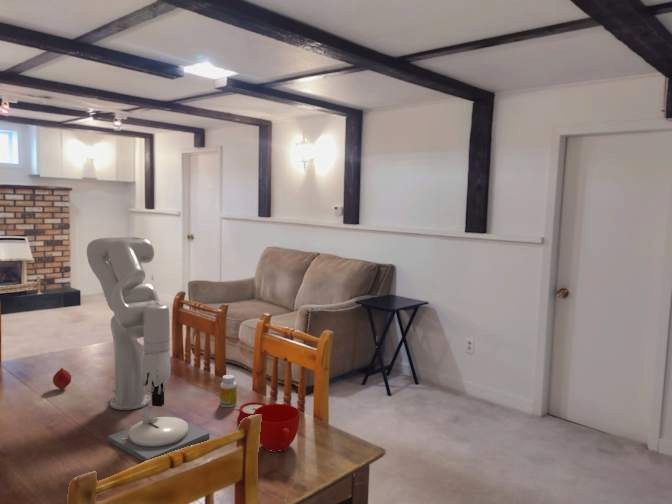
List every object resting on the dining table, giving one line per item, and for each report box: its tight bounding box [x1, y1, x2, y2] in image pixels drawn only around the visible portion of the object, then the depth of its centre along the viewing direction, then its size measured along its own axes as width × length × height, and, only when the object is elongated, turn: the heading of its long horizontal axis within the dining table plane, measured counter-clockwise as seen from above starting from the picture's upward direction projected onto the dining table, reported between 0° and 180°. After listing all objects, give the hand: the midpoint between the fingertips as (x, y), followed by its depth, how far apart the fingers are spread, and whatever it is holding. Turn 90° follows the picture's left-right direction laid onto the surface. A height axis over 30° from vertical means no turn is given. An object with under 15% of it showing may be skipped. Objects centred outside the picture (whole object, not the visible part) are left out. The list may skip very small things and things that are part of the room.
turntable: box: [129, 405, 188, 447], centre depth 151 cm, size 16×16×6 cm
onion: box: [52, 367, 72, 390], centre depth 187 cm, size 6×6×8 cm
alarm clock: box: [232, 401, 267, 424], centre depth 165 cm, size 10×6×15 cm
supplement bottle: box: [219, 374, 238, 408], centre depth 178 cm, size 5×5×10 cm
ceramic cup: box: [253, 403, 301, 451], centre depth 147 cm, size 13×17×10 cm
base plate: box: [107, 413, 210, 462], centre depth 151 cm, size 20×20×2 cm
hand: (158, 405), depth 160 cm, fingers closed
